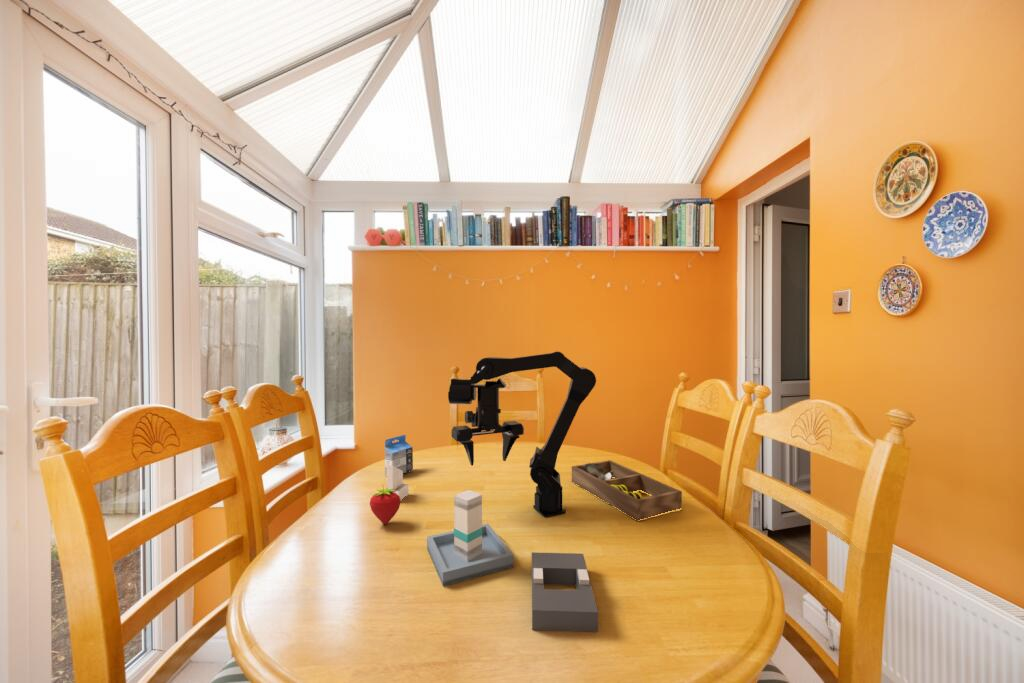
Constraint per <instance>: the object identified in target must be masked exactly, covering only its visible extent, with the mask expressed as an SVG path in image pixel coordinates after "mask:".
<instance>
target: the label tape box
mask: <svg viewBox="0 0 1024 683" xmlns="http://www.w3.org/2000/svg"><path fill="white" fill-rule="evenodd" d="M406 436H407V434H402V435H400V436H399V435H398V436H395V437H390V438H386V439H384V468H385V469H384V470H385V471H384V472H385V473H384V476H385V475H387V466H394V467H396V468H398V469H400V470H402V471H403V473H406V472H409V471H411V472H413V471H414V468H413V467H414V461H413V460H414V457H413V446H412V445H410V443H408V442H407V441H406ZM412 470H413V471H412ZM409 473H410V472H409ZM406 474H407V473H406Z"/></svg>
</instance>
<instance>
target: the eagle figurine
mask: <svg viewBox="0 0 1024 683" xmlns="http://www.w3.org/2000/svg"><path fill="white" fill-rule="evenodd" d="M592 463H593V462H587V463H584V464H585V466H584V467H583V468H584V470H585V472H587V473H589V474H591V475H593V476H596V477H598V479H600V480H602V481H603V480H608V479H613V478H612V477H614V476H613V469H612V471H610V472H608V473H607V474H606V475H604V474H605V472H604V470H603V469H602V468H599V467H597V466H595V465H594V464H592Z"/></svg>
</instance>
